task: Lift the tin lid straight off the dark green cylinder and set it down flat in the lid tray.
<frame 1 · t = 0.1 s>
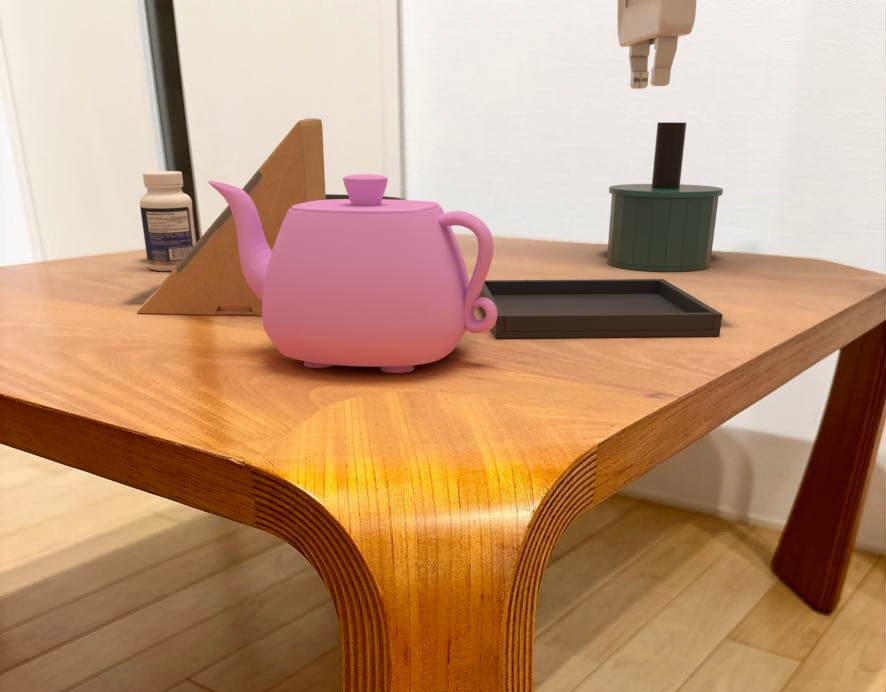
hand: (648, 87, 105), 18 cm above the table, tool pointing down, fingers open, 8 cm apart
bowl: (319, 254, 111), on the table
lid tray: (587, 316, 76), on the table
tin lid: (664, 193, 100), point 7 cm above the table, touching dark green cylinder
teapot: (355, 358, 64), on the table
sandwich container: (236, 307, 80), on the table
pill bottle: (174, 270, 100), on the table
dark green cylinder: (658, 263, 103), on the table
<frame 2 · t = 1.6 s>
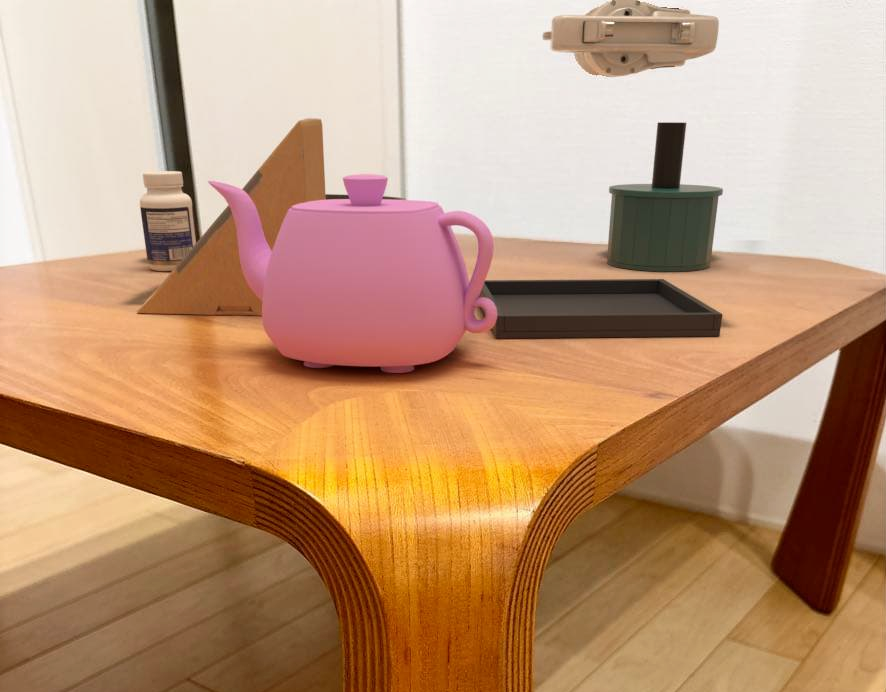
hand: (648, 30, 105), 24 cm above the table, tool horizontal, fingers open, 8 cm apart
nothing on the table moved.
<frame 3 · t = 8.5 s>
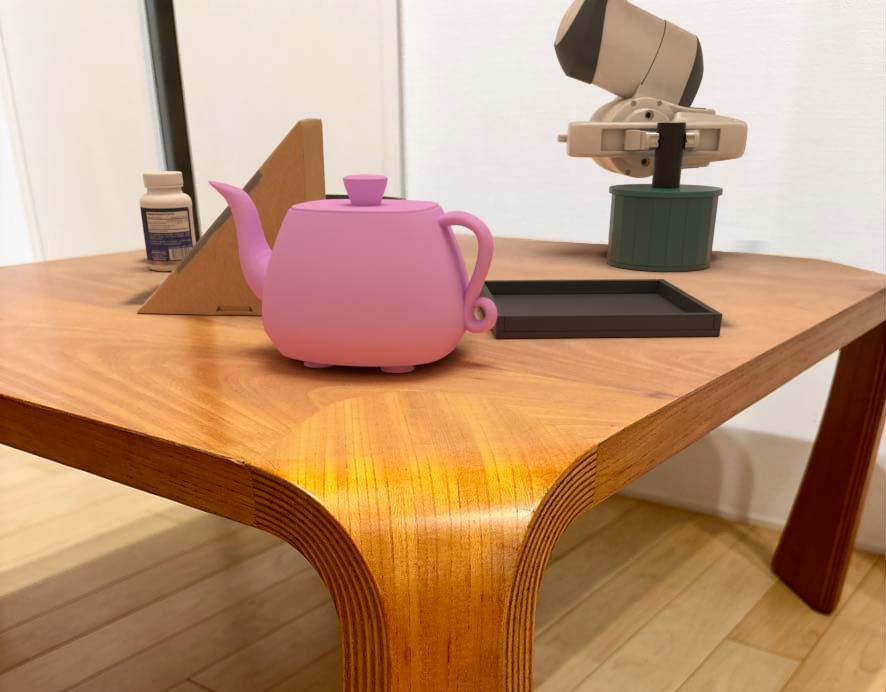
hand: (672, 141, 97), 13 cm above the table, tool horizontal, fingers closed on tin lid, 3 cm apart
tin lid: (664, 193, 100), point 8 cm above the table, touching gripper, dark green cylinder
everything else where it was.
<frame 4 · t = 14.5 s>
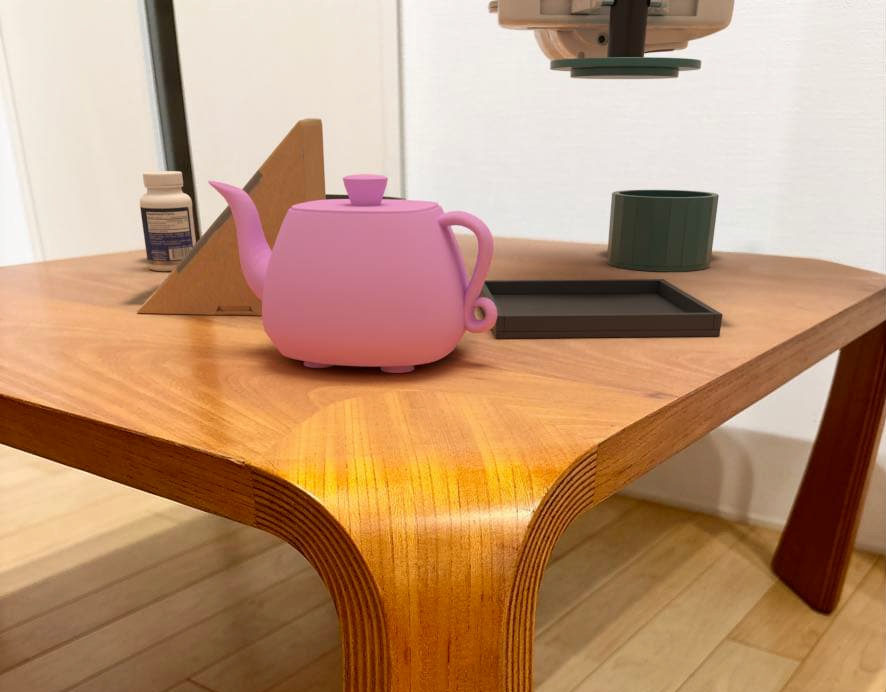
tin lid: (624, 69, 75), point 19 cm above the table, touching gripper
everything else where it was.
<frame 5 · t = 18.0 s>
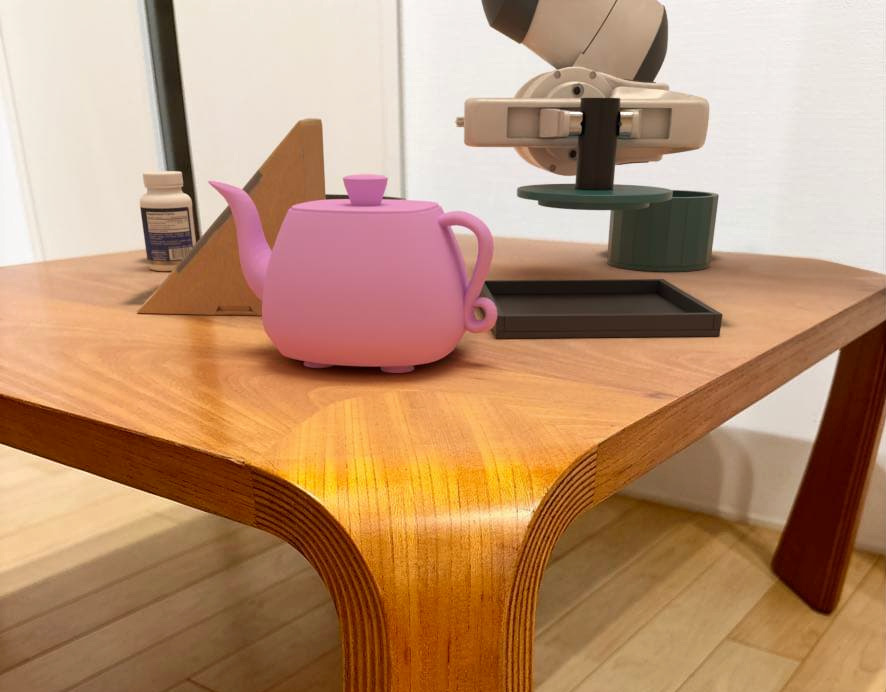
hand: (601, 123, 69), 15 cm above the table, tool horizontal, fingers closed on tin lid, 3 cm apart
tin lid: (593, 197, 73), point 9 cm above the table, touching gripper
everything else where it was.
when the fingers open (6 cm above the table, at t = 20.5 s): tin lid stays where it is, resting on lid tray.
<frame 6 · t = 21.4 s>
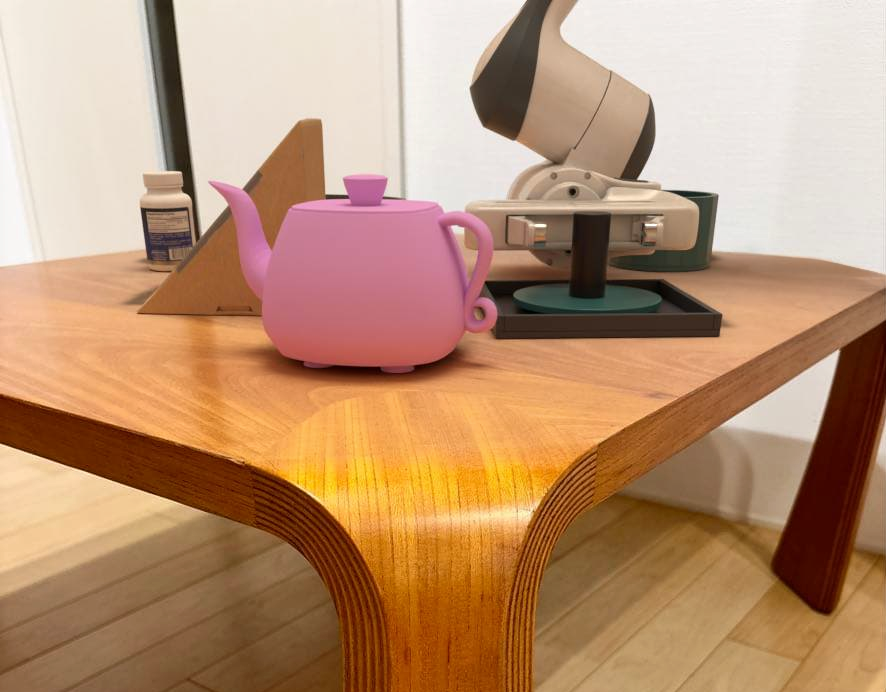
hand: (595, 235, 73), 7 cm above the table, tool horizontal, fingers open, 8 cm apart
tin lid: (586, 302, 76), point 1 cm above the table, touching lid tray
everything else where it was.
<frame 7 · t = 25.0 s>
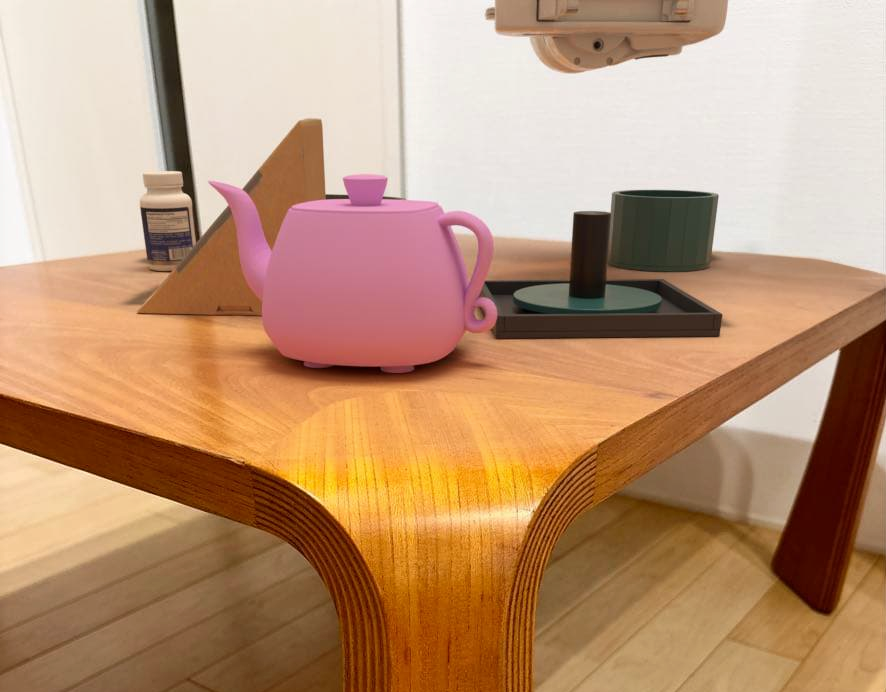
hand: (628, 0, 73), 24 cm above the table, tool horizontal, fingers open, 8 cm apart
nothing on the table moved.
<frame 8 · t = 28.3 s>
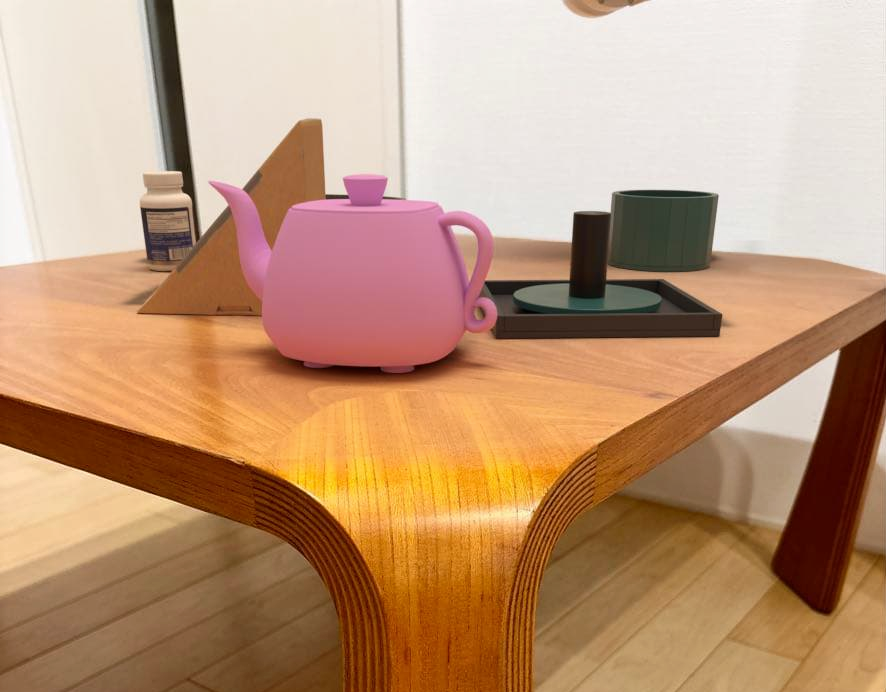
nothing on the table moved.
at the end: tin lid inside the target area in the lid tray (0.1 cm from its centre), point 1.1 cm above the lid tray's base; tin lid tilted 0°; tin lid point 1.1 cm above the table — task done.
